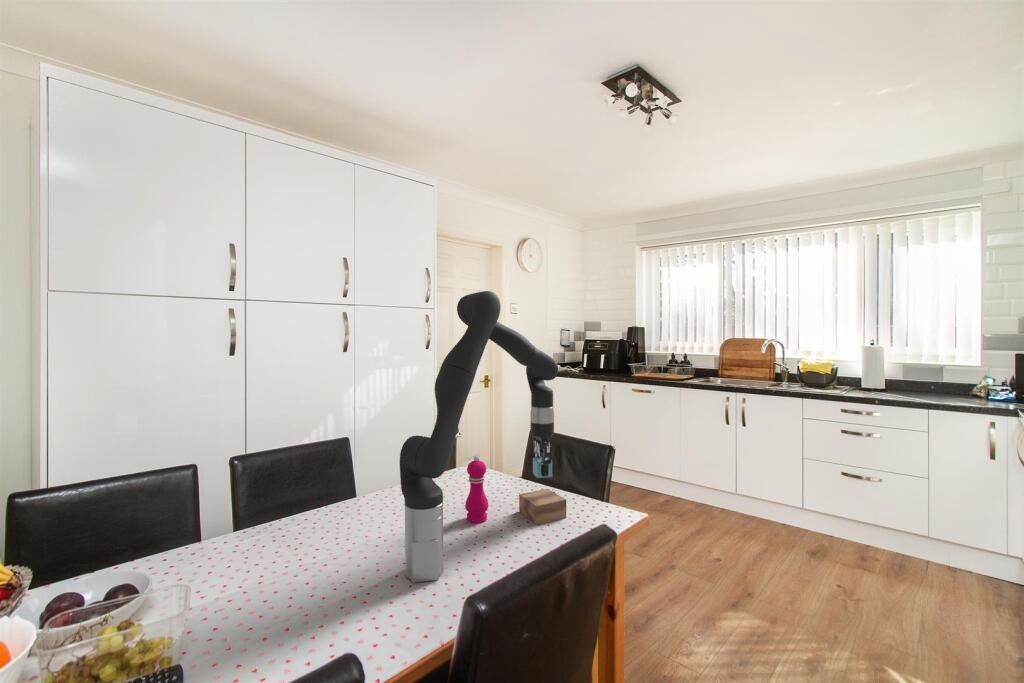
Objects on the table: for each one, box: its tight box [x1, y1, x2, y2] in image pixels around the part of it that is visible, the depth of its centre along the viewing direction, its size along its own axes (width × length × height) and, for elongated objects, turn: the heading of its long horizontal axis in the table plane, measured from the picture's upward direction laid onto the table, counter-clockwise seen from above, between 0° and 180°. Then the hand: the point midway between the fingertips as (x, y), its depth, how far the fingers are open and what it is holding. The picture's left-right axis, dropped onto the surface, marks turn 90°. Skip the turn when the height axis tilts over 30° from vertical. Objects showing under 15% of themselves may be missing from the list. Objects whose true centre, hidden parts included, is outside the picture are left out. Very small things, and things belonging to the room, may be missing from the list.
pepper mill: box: [464, 455, 489, 524], centre depth 144 cm, size 7×7×20 cm
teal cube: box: [532, 457, 553, 479], centre depth 147 cm, size 5×5×5 cm
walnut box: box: [518, 488, 567, 525], centre depth 148 cm, size 11×11×6 cm
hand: (542, 472), depth 147 cm, fingers closed on teal cube, 5 cm apart
